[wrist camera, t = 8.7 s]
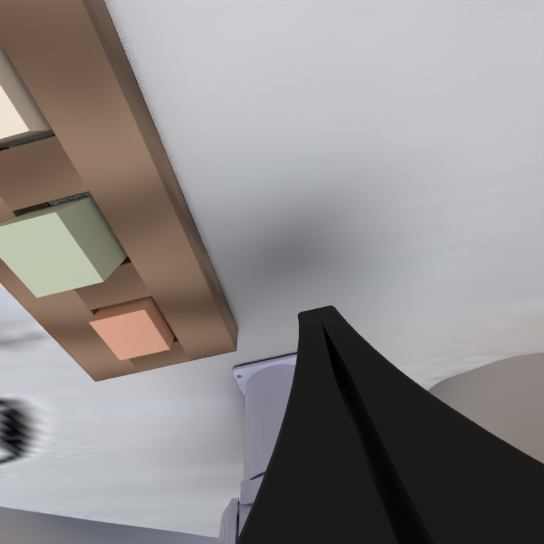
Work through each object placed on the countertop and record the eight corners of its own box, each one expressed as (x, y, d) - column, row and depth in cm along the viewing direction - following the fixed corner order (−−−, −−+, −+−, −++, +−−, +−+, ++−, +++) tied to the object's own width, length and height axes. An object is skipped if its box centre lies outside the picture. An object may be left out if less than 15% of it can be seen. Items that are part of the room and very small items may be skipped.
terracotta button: (180, 321, 20) (169, 349, 18) (136, 331, 21) (120, 360, 18) (159, 283, 18) (144, 309, 16) (111, 295, 19) (88, 322, 16)
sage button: (128, 255, 16) (104, 281, 13) (71, 269, 16) (36, 297, 13) (92, 195, 14) (55, 212, 11) (28, 212, 14) (-23, 232, 11)
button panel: (237, 328, 22) (236, 350, 20) (110, 357, 23) (95, 381, 20) (74, -72, 10) (27, -124, 8) (-183, 11, 11) (-289, -17, 9)
